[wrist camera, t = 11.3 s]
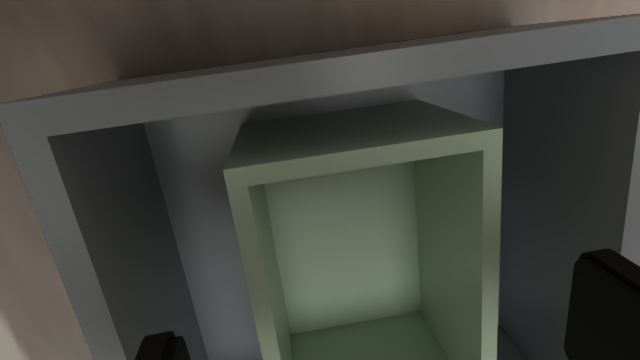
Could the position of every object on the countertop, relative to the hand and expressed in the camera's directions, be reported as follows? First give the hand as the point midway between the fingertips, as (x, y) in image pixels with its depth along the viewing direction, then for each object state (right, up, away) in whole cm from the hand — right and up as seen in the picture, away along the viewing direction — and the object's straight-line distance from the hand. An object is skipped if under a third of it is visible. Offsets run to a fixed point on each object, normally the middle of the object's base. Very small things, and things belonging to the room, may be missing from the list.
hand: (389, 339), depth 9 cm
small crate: (-1, +2, +8) cm, 8 cm away
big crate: (-1, +2, +8) cm, 9 cm away
